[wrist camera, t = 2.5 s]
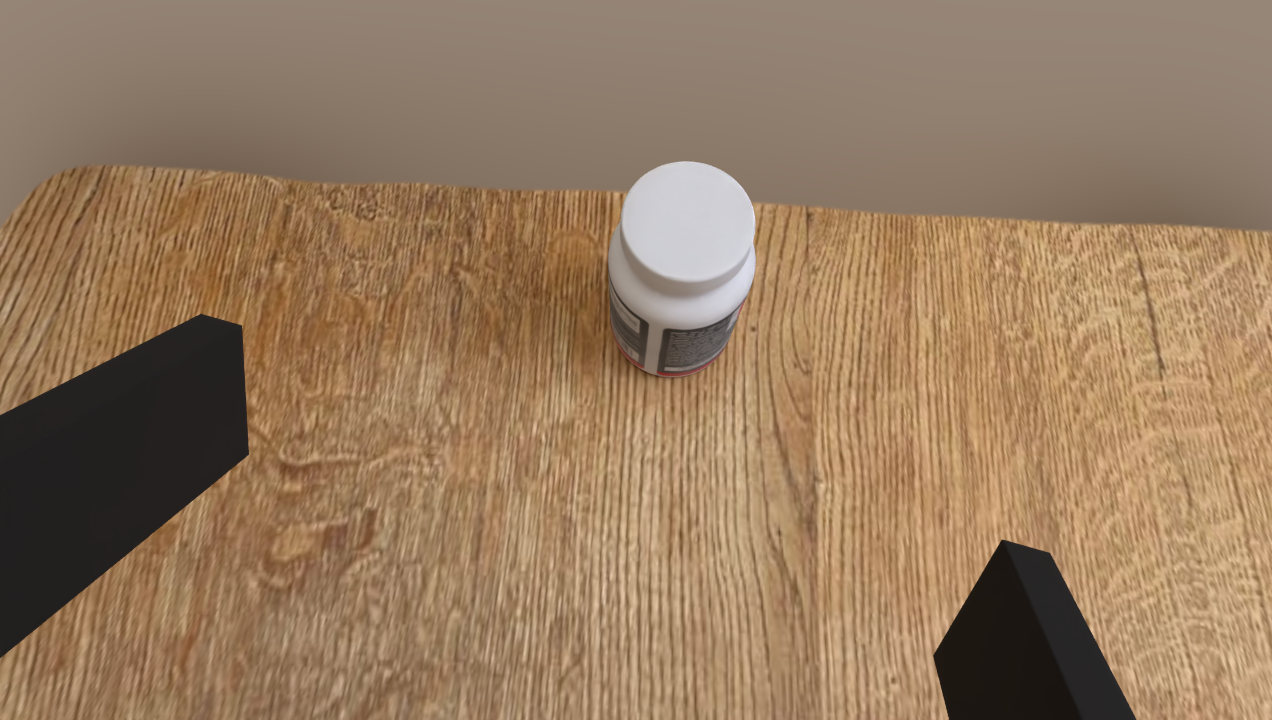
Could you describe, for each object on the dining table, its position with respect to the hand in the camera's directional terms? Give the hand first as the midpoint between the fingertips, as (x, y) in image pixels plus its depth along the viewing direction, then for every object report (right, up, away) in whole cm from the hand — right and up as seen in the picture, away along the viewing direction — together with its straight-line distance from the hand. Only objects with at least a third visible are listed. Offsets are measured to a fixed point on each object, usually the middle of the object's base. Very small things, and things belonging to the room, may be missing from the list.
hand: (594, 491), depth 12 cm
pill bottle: (+2, +4, +22) cm, 22 cm away
